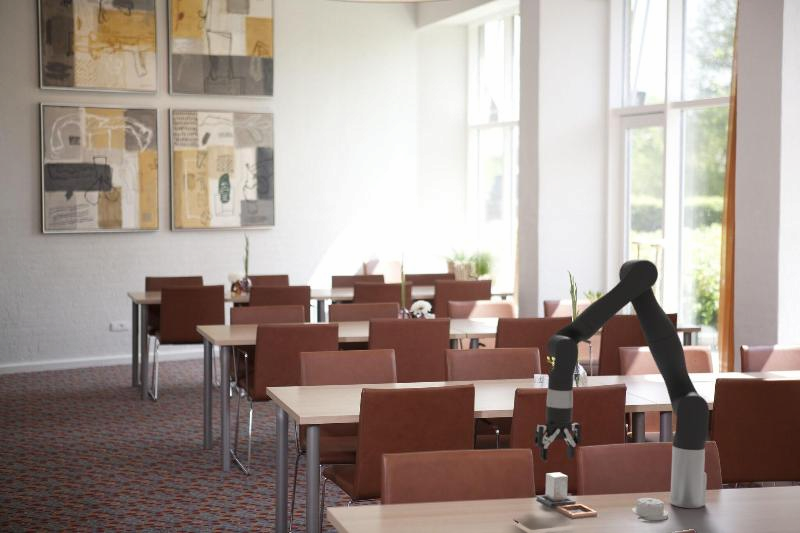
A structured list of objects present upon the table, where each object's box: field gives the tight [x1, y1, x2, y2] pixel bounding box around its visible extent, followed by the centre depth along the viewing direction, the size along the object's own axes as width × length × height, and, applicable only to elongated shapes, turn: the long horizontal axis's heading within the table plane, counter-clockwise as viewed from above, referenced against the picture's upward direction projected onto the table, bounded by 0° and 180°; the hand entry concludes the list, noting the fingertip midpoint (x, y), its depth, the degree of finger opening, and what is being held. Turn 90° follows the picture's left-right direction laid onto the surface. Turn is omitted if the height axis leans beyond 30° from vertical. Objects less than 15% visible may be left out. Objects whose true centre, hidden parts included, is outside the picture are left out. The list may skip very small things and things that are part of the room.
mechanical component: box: [631, 497, 669, 521], centre depth 289 cm, size 10×4×10 cm
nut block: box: [544, 471, 569, 503], centre depth 296 cm, size 4×4×8 cm
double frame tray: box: [535, 494, 601, 521], centre depth 291 cm, size 9×20×2 cm, turn 23°
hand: (556, 459), depth 296 cm, fingers open, 8 cm apart
